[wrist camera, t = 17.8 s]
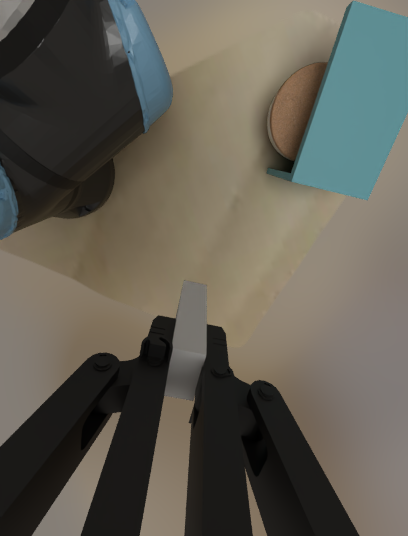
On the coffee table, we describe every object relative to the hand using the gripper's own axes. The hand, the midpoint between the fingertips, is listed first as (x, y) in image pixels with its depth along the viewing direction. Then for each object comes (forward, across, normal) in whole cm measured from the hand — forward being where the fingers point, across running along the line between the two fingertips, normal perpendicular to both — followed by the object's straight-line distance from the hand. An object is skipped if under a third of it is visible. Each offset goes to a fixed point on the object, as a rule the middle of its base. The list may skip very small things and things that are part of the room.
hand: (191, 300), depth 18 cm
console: (+29, +13, +16) cm, 36 cm away
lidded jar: (+30, +11, +16) cm, 35 cm away
